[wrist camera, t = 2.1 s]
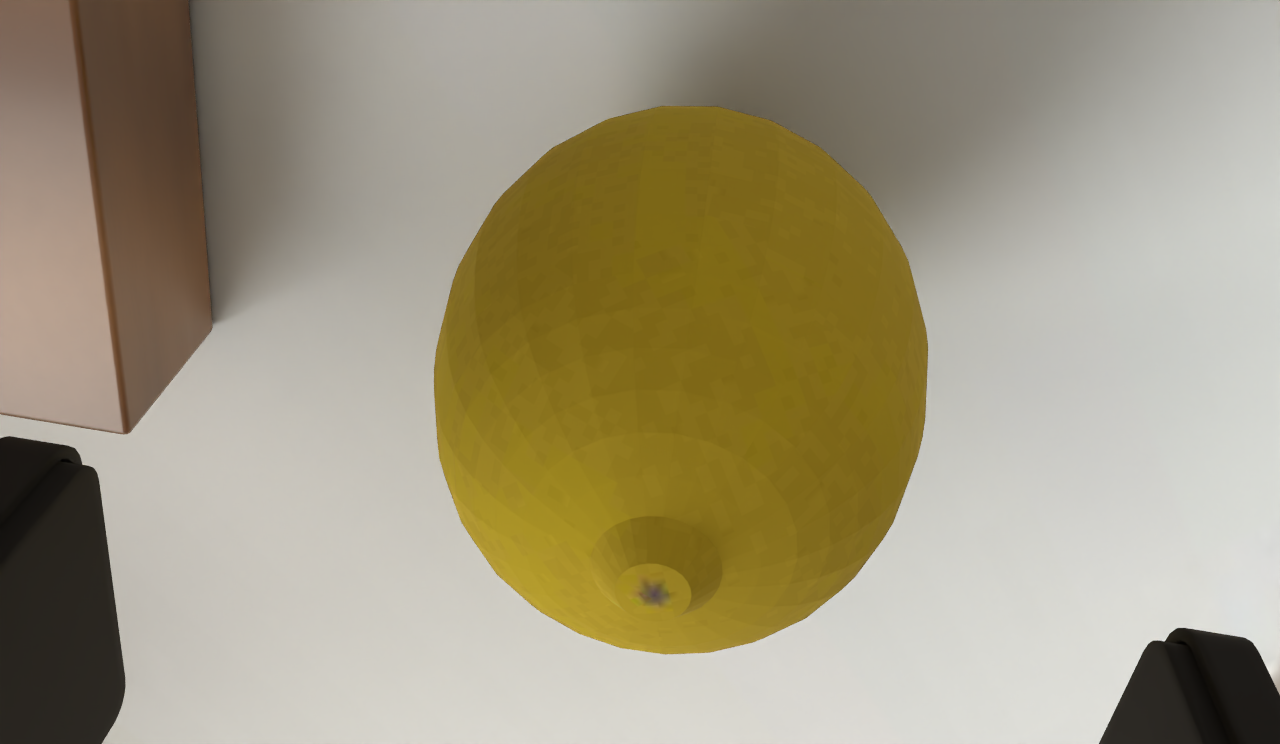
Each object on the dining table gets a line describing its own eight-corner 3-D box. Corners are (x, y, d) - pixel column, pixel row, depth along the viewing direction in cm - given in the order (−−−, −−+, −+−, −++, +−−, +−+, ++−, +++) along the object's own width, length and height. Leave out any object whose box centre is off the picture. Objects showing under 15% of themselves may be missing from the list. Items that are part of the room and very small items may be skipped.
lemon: (968, 260, 17) (1093, 671, 10) (660, 435, 19) (599, 871, 13) (749, -64, 15) (728, 189, 8) (431, 172, 17) (212, 524, 11)
